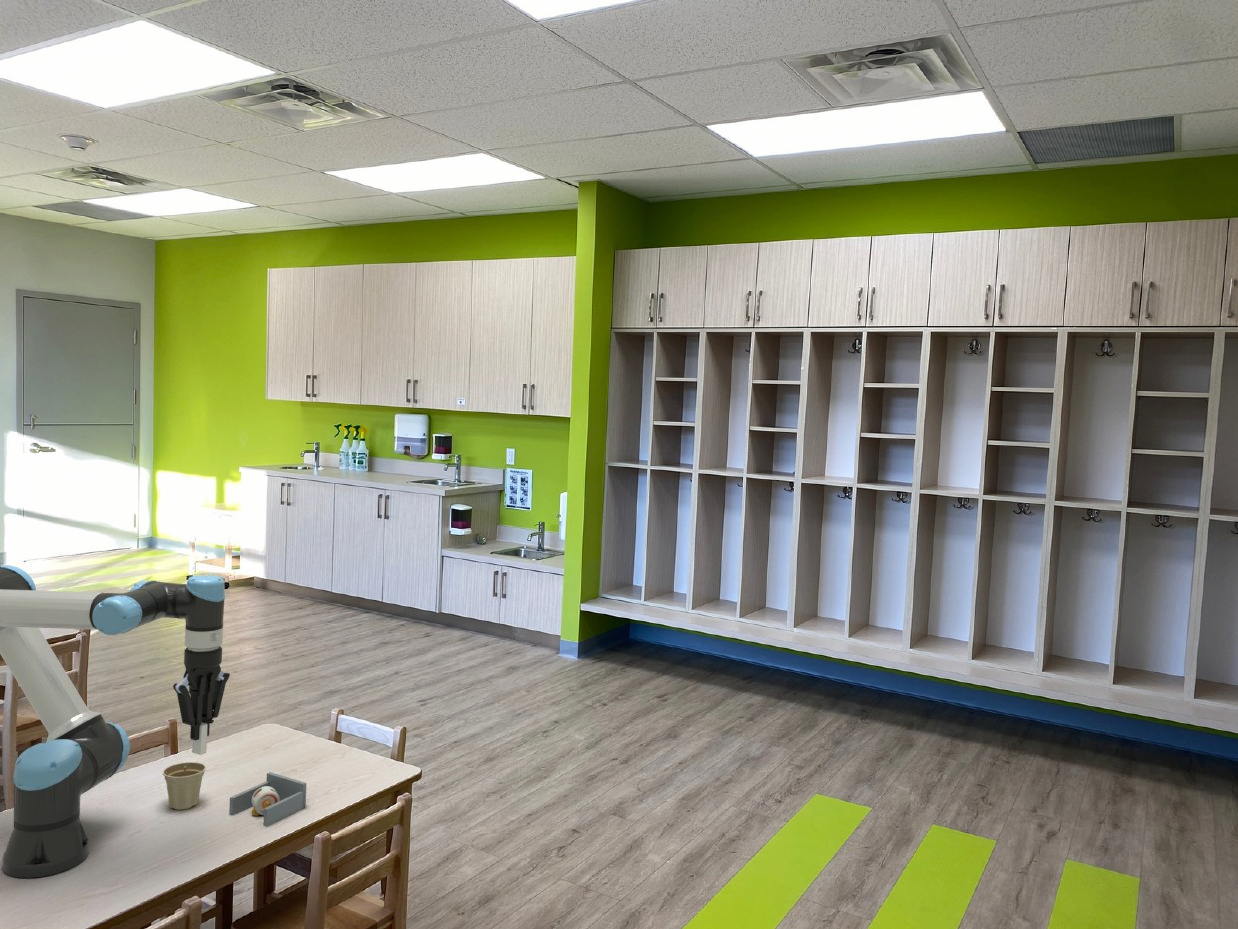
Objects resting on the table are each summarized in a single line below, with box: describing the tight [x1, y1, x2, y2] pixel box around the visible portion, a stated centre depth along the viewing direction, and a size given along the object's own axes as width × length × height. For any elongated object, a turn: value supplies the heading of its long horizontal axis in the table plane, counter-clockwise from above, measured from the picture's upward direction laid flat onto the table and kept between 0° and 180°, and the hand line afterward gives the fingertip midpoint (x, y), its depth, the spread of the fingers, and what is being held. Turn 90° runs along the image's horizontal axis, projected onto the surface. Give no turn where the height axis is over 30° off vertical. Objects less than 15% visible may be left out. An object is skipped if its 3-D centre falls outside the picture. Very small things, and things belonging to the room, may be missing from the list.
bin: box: [228, 771, 307, 827], centre depth 214 cm, size 12×12×6 cm
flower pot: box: [162, 761, 207, 811], centre depth 215 cm, size 9×9×9 cm
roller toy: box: [251, 786, 280, 817], centre depth 213 cm, size 4×6×6 cm
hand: (199, 752), depth 197 cm, fingers closed
